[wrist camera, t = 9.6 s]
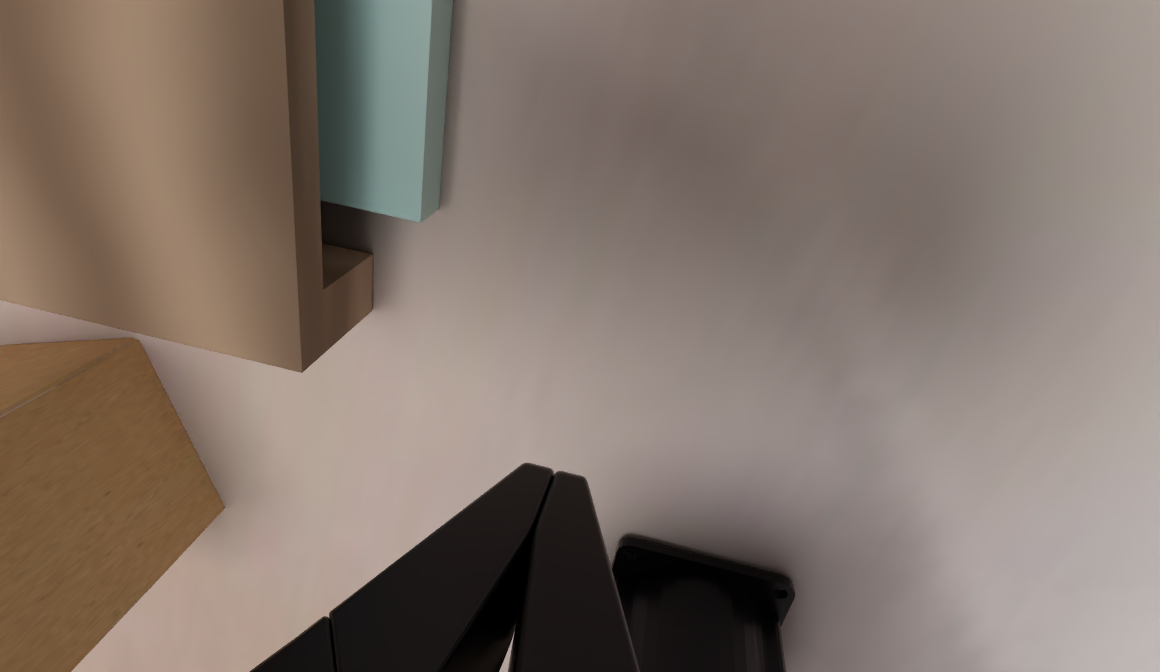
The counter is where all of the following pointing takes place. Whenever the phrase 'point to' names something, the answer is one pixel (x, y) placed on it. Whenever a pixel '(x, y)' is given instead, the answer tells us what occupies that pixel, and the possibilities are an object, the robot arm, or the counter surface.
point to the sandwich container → (87, 495)
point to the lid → (382, 103)
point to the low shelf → (172, 175)
